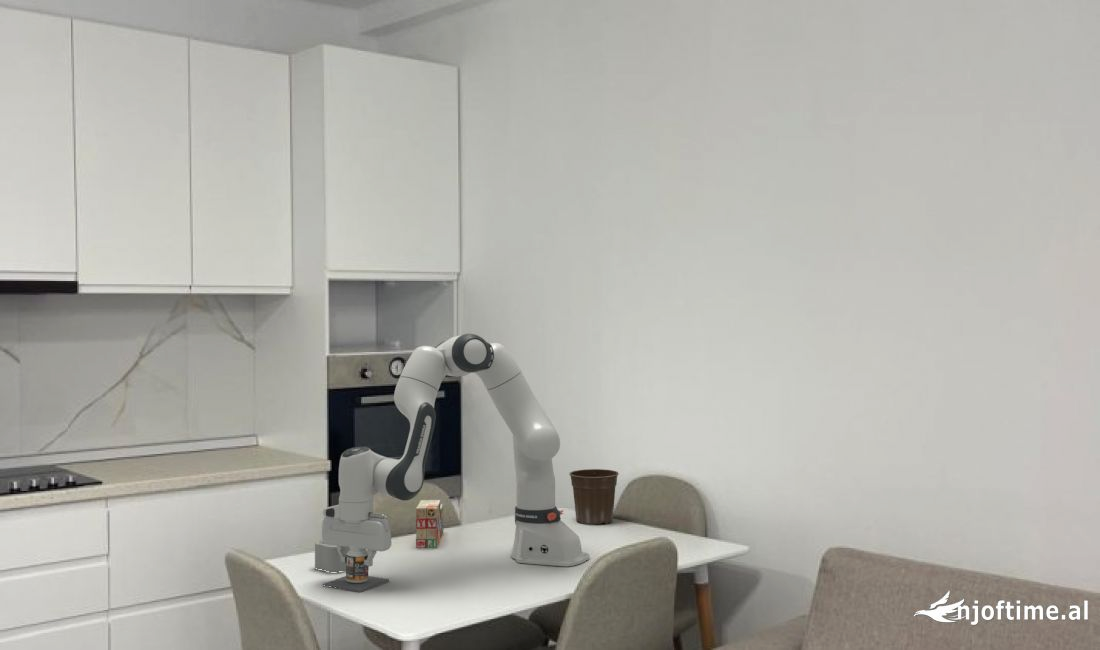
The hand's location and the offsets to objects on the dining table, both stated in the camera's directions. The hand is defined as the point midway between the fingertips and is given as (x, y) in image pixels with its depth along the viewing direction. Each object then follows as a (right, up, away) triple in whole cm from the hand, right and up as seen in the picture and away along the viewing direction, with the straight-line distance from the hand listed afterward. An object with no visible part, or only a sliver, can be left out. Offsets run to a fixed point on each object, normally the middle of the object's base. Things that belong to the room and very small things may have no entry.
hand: (356, 564), depth 278 cm
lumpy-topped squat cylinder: (-8, -5, +18) cm, 20 cm away
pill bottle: (0, -5, 0) cm, 4 cm away
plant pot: (+64, -3, +78) cm, 101 cm away
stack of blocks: (+13, -4, +50) cm, 52 cm away
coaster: (0, -5, 0) cm, 5 cm away
